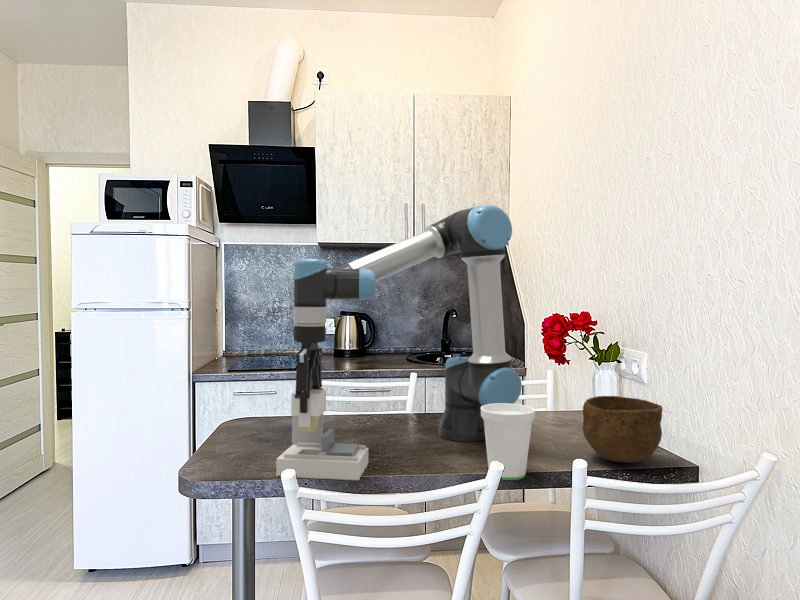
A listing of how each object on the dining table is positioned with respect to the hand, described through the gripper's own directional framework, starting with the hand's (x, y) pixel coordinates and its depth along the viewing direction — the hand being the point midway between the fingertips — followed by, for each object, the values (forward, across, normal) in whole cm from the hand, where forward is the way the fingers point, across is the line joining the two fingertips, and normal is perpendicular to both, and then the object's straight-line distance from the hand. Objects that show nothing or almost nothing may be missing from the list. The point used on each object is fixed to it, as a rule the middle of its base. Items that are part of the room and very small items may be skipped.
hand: (308, 422), depth 137 cm
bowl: (+11, -17, +75) cm, 78 cm away
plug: (+2, 0, 0) cm, 2 cm away
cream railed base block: (+11, 0, +4) cm, 12 cm away
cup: (+11, -3, +46) cm, 48 cm away
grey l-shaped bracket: (+7, 0, +8) cm, 10 cm away
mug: (+11, -24, -7) cm, 27 cm away
